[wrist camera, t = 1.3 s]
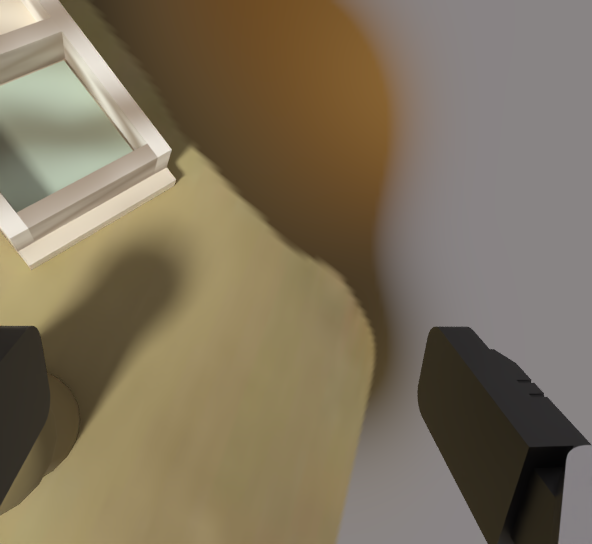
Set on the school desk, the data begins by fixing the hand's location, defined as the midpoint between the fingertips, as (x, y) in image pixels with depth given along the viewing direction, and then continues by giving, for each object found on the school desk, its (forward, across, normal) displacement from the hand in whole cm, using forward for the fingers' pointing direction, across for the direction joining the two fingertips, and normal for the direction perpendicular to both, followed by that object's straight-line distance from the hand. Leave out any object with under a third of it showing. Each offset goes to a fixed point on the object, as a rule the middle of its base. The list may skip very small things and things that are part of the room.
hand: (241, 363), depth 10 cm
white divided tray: (+24, +15, -4) cm, 29 cm away
